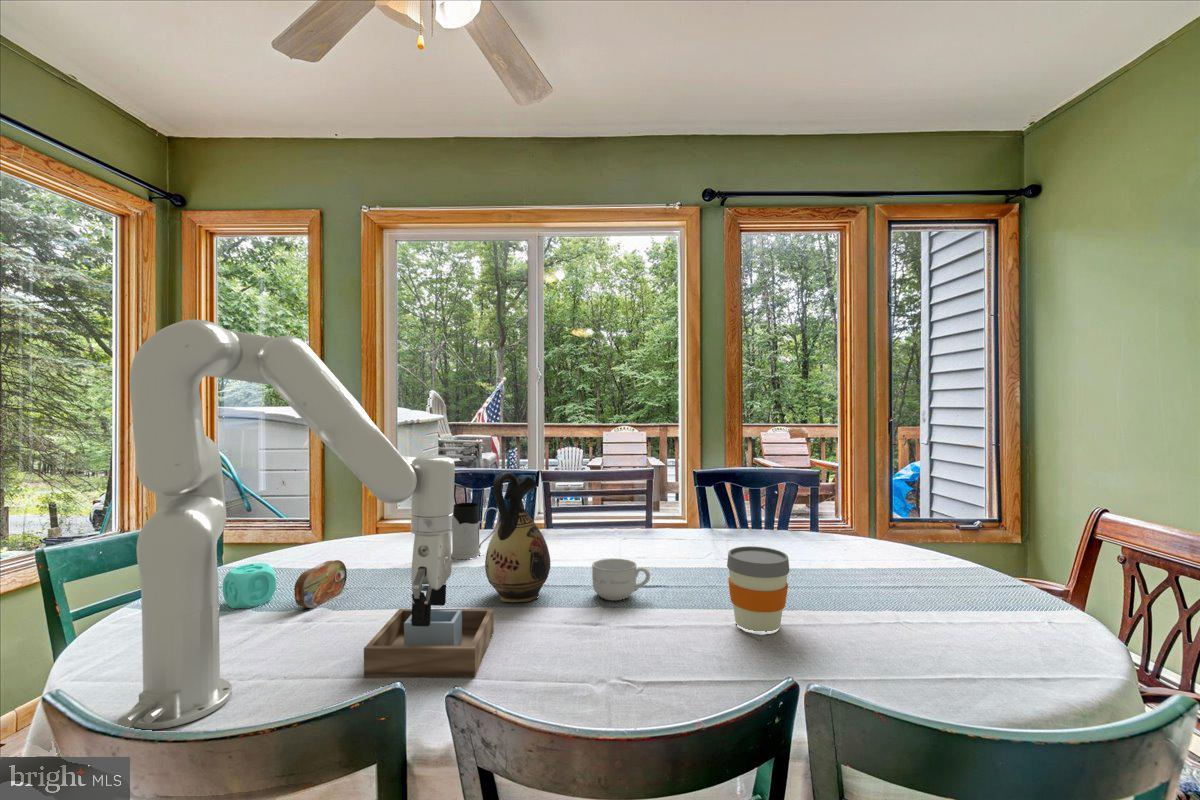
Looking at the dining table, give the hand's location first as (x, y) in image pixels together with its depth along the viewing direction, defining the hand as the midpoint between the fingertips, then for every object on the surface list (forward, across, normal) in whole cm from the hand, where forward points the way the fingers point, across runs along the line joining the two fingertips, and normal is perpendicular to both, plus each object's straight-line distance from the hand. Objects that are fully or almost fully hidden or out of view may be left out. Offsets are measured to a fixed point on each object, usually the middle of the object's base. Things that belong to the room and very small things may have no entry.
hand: (429, 614), depth 102 cm
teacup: (+6, +28, -37) cm, 47 cm away
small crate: (+6, 0, -1) cm, 6 cm away
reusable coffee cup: (+5, +12, -65) cm, 66 cm away
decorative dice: (+9, +26, +49) cm, 56 cm away
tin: (+8, +26, +33) cm, 43 cm away
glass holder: (+7, +62, +5) cm, 63 cm away
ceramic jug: (+7, +28, -12) cm, 32 cm away
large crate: (+7, 0, -1) cm, 7 cm away
